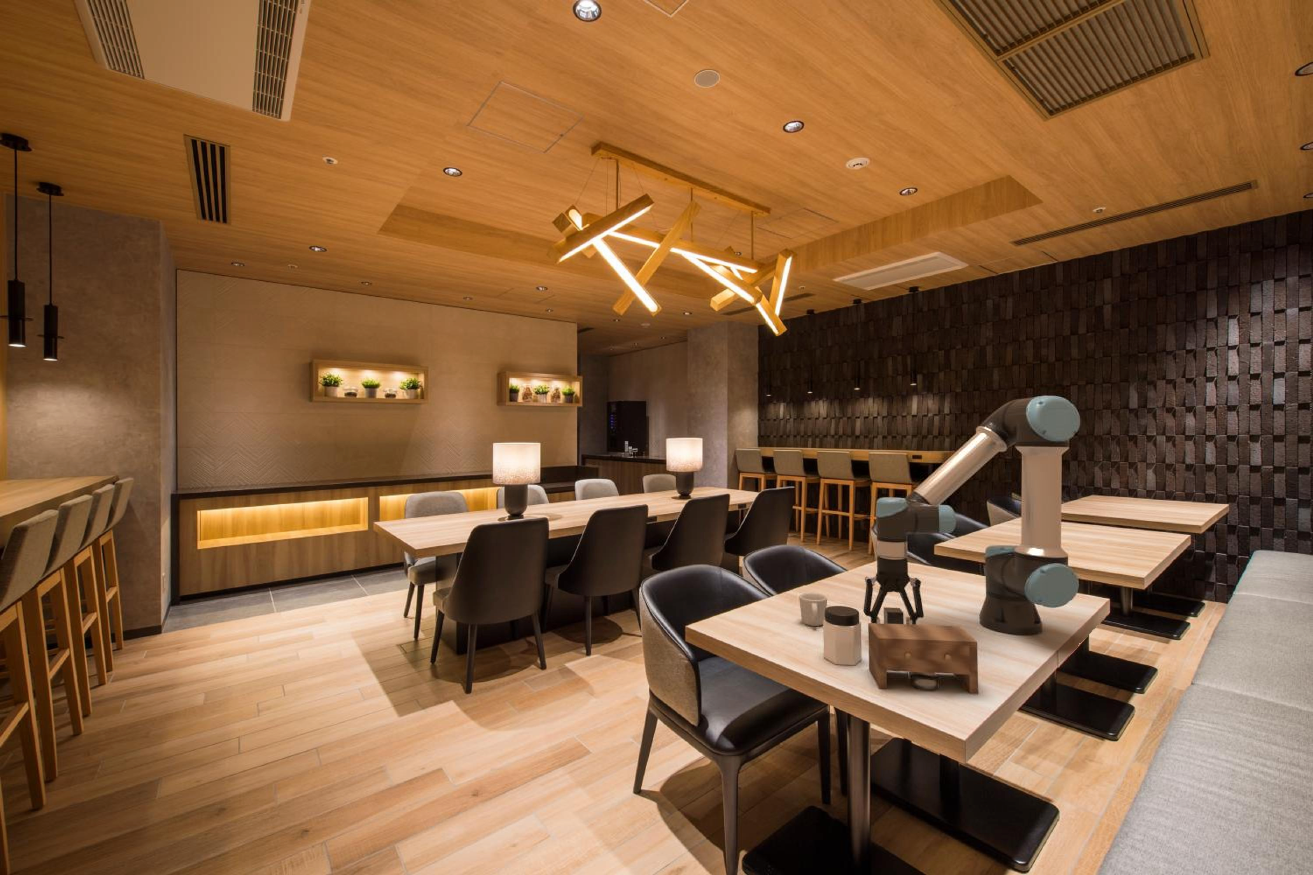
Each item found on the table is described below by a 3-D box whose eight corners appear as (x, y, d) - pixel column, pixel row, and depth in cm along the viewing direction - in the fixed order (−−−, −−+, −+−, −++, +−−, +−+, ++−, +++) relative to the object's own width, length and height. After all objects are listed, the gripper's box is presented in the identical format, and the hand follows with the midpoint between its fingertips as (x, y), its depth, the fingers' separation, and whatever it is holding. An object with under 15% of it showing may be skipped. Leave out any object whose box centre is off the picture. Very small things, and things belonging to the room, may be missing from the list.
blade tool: (899, 641, 148) (899, 607, 148) (921, 671, 130) (921, 633, 130) (884, 640, 149) (883, 607, 149) (903, 670, 130) (903, 632, 130)
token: (933, 680, 125) (933, 669, 125) (942, 692, 119) (942, 681, 119) (905, 679, 125) (905, 668, 125) (913, 691, 120) (913, 679, 120)
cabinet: (960, 673, 127) (959, 626, 127) (979, 695, 117) (978, 643, 117) (869, 669, 131) (868, 622, 131) (879, 690, 120) (878, 639, 120)
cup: (830, 632, 156) (829, 603, 157) (800, 630, 158) (800, 602, 158) (826, 619, 167) (825, 593, 167) (799, 618, 169) (798, 592, 169)
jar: (833, 649, 143) (832, 603, 143) (865, 657, 138) (864, 608, 138) (819, 660, 136) (818, 611, 137) (852, 668, 131) (851, 618, 131)
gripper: (928, 554, 149) (929, 639, 149) (849, 552, 152) (851, 636, 152) (937, 560, 142) (939, 649, 141) (855, 558, 145) (856, 646, 145)
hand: (893, 642), depth 147 cm, fingers open, 7 cm apart
